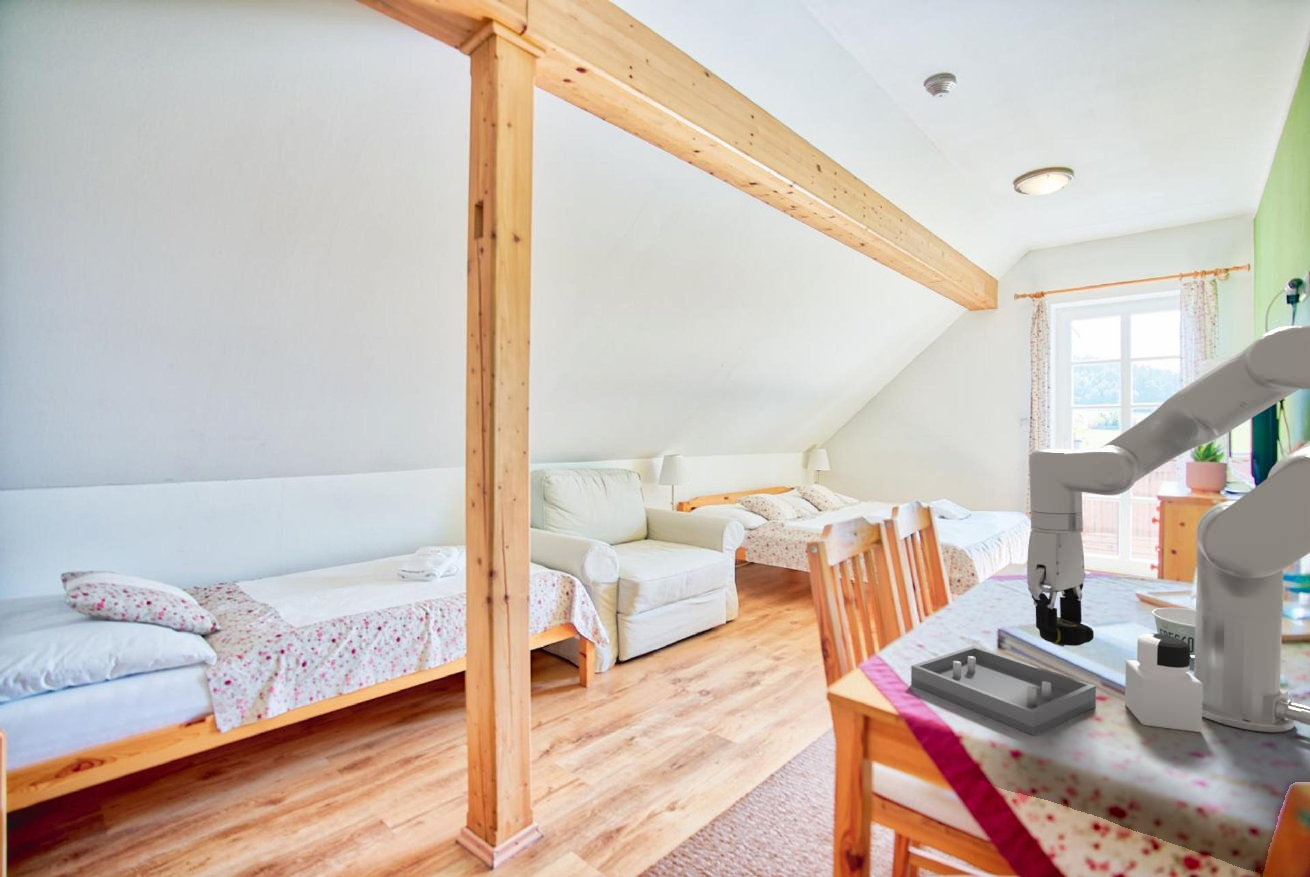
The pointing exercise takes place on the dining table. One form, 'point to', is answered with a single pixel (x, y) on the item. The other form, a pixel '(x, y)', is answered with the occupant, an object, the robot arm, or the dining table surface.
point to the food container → (1177, 624)
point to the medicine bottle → (1163, 684)
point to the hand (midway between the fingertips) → (1059, 625)
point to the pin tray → (1004, 688)
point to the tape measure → (1068, 633)
